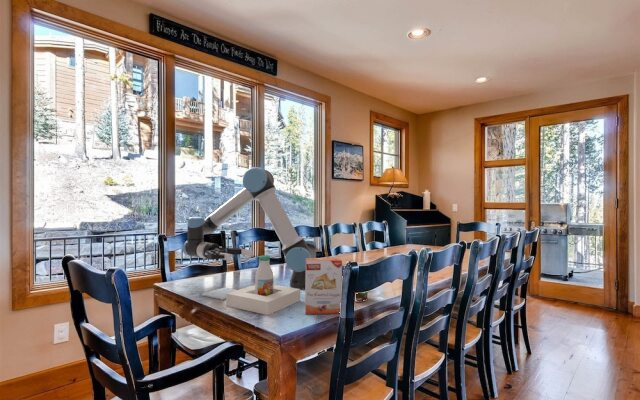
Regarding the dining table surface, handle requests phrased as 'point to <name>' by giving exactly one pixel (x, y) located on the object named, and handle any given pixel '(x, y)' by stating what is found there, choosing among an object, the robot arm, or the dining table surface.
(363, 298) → the food container
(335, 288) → the cracker box
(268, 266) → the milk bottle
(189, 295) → the dining table surface
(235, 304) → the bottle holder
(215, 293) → the mat
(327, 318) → the dining table surface
